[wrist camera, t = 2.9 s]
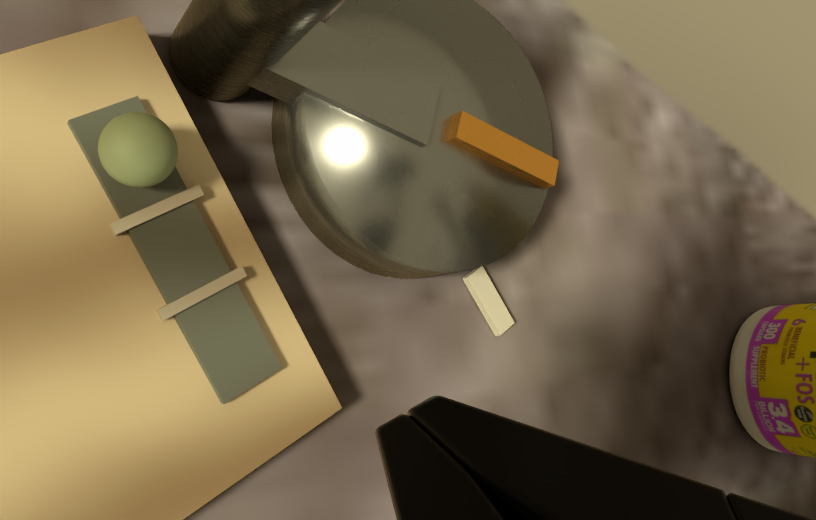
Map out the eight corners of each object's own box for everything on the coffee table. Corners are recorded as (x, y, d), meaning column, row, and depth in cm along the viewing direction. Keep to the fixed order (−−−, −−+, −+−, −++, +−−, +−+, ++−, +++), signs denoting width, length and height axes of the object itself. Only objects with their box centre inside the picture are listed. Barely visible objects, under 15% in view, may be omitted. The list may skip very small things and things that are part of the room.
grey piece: (524, 84, 27) (854, -78, 17) (480, 312, 25) (829, 283, 14) (216, -93, 21) (432, -498, 11) (120, 182, 19) (283, -13, 9)
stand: (324, 405, 21) (377, 413, 19) (21, 614, 17) (30, 666, 14) (129, 32, 20) (154, -21, 17) (-270, 152, 15) (-326, 106, 12)
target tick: (509, 323, 25) (514, 322, 25) (494, 335, 25) (500, 335, 25) (477, 266, 25) (482, 265, 25) (462, 278, 24) (467, 277, 24)
